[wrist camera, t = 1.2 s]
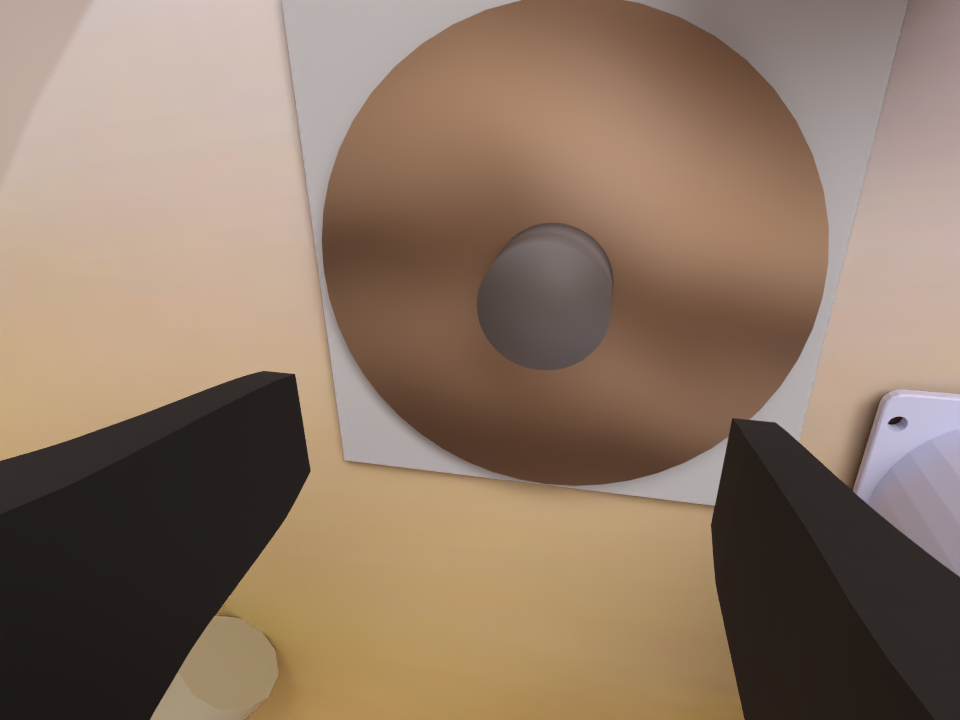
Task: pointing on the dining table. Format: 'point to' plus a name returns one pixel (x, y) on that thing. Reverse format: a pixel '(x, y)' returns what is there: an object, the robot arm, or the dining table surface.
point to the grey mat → (705, 3)
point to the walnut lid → (575, 240)
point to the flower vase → (222, 674)
